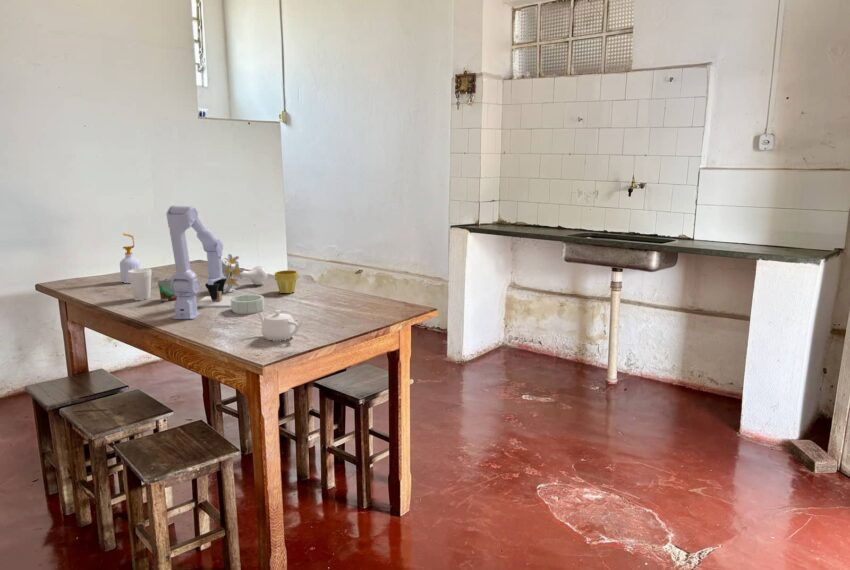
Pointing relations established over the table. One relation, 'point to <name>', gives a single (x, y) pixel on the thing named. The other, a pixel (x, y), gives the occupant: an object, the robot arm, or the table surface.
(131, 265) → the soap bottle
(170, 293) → the food container
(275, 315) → the teapot
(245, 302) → the bowl
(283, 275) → the plant pot
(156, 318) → the table surface
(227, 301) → the cover sheet
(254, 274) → the flower vase
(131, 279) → the foam cup
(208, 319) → the table surface
